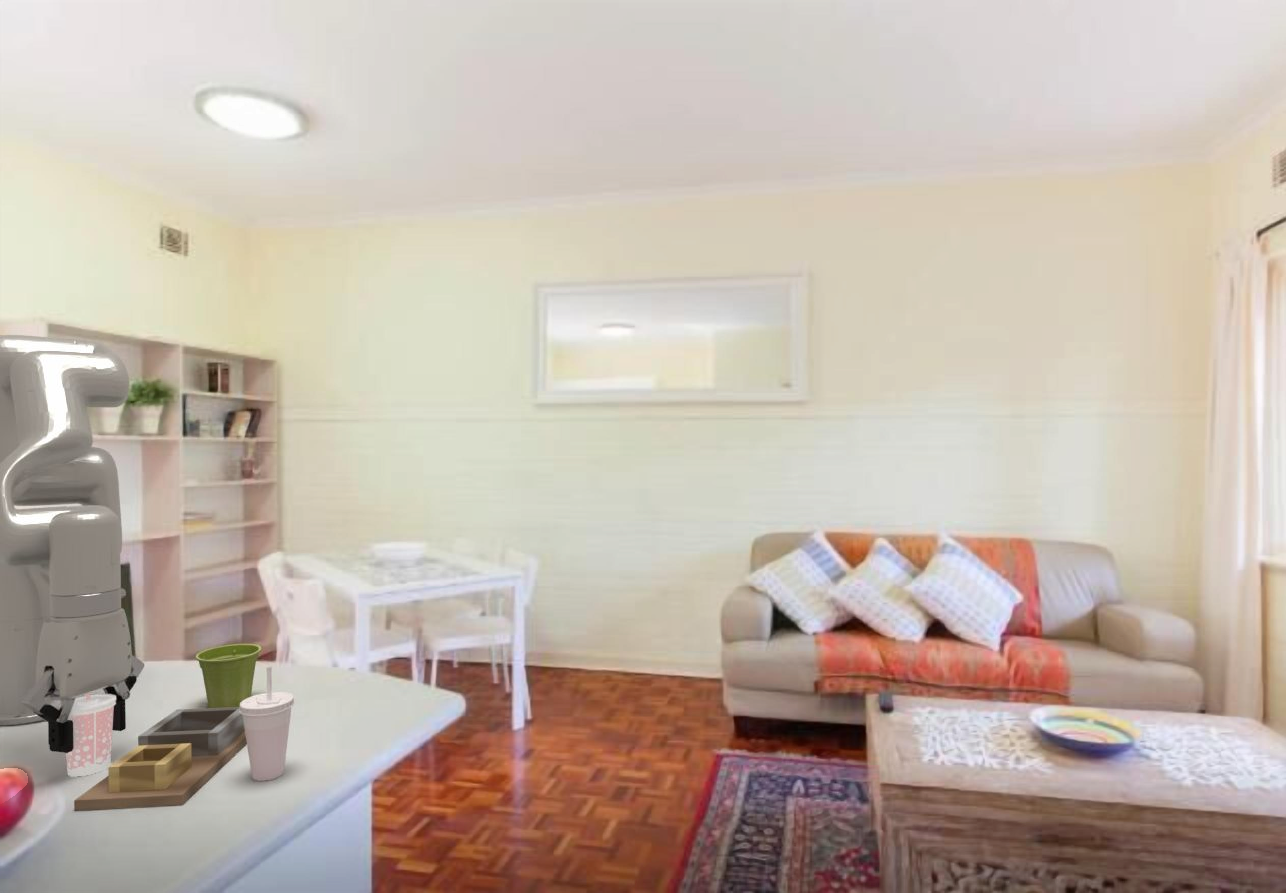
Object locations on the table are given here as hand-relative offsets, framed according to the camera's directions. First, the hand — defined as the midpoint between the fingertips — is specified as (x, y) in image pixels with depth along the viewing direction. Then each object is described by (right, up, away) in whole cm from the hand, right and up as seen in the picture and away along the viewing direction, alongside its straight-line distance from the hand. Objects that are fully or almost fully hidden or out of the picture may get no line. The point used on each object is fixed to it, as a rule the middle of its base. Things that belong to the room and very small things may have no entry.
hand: (88, 738), depth 100 cm
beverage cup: (0, -4, 0) cm, 4 cm away
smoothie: (+25, -4, -2) cm, 25 cm away
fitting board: (+11, -4, 0) cm, 12 cm away
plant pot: (+5, -4, +24) cm, 25 cm away
